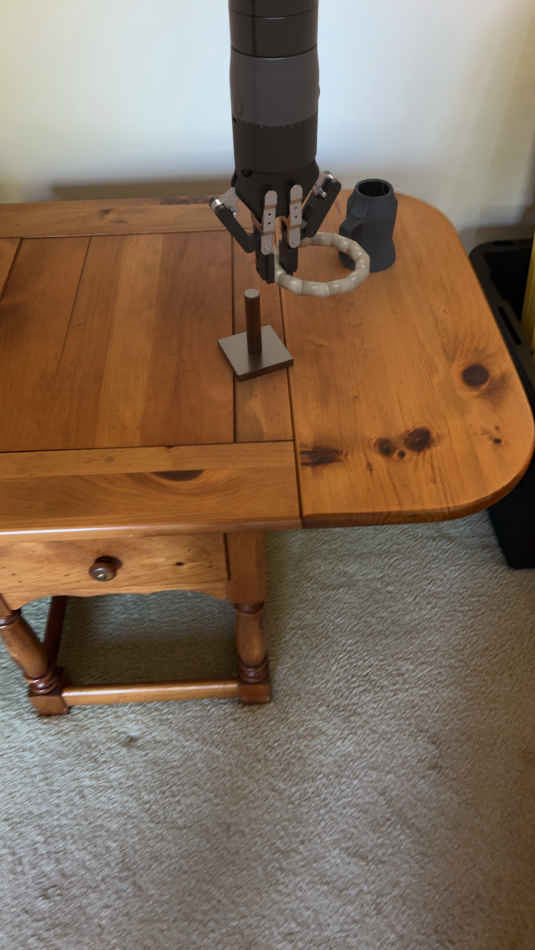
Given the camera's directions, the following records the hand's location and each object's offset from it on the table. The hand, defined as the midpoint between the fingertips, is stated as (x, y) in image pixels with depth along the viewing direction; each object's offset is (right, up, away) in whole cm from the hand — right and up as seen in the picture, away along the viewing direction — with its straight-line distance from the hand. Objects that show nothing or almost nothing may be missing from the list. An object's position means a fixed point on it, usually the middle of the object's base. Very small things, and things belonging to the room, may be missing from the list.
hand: (276, 276), depth 70 cm
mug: (+14, +13, +34) cm, 39 cm away
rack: (-3, -5, +21) cm, 21 cm away
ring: (+4, +2, +1) cm, 5 cm away
